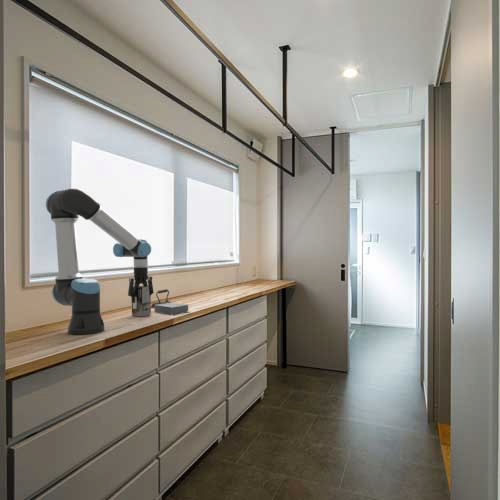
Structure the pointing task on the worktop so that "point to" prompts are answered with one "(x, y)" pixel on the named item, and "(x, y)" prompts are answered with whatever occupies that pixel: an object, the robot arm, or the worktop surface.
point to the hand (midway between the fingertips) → (141, 307)
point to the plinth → (171, 308)
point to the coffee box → (142, 301)
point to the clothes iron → (159, 300)
